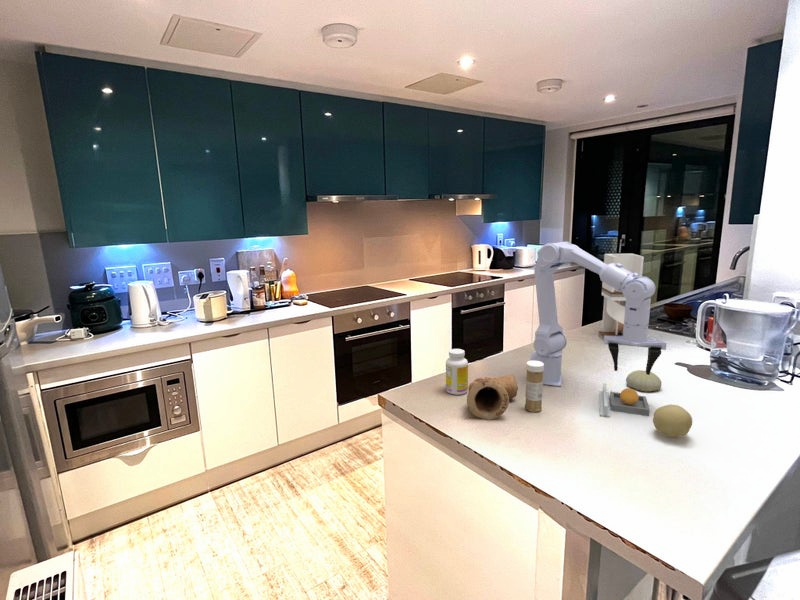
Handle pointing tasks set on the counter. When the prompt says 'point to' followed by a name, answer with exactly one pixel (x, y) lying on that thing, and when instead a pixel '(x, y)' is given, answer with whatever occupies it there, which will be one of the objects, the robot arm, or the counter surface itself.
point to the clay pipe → (491, 396)
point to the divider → (604, 402)
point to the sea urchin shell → (643, 381)
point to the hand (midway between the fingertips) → (631, 371)
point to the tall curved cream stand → (617, 295)
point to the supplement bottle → (456, 372)
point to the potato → (672, 421)
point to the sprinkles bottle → (534, 386)
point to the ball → (629, 396)
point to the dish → (637, 408)
